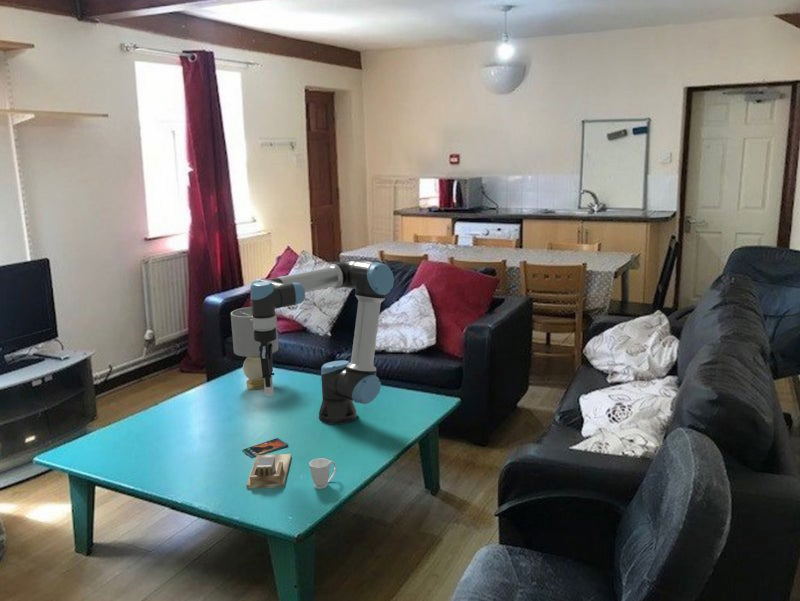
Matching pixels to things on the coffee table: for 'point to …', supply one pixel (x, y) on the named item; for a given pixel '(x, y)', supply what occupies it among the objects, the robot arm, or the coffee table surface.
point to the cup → (321, 472)
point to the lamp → (249, 346)
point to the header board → (270, 479)
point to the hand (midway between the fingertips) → (269, 394)
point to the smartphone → (265, 447)
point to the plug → (266, 465)
